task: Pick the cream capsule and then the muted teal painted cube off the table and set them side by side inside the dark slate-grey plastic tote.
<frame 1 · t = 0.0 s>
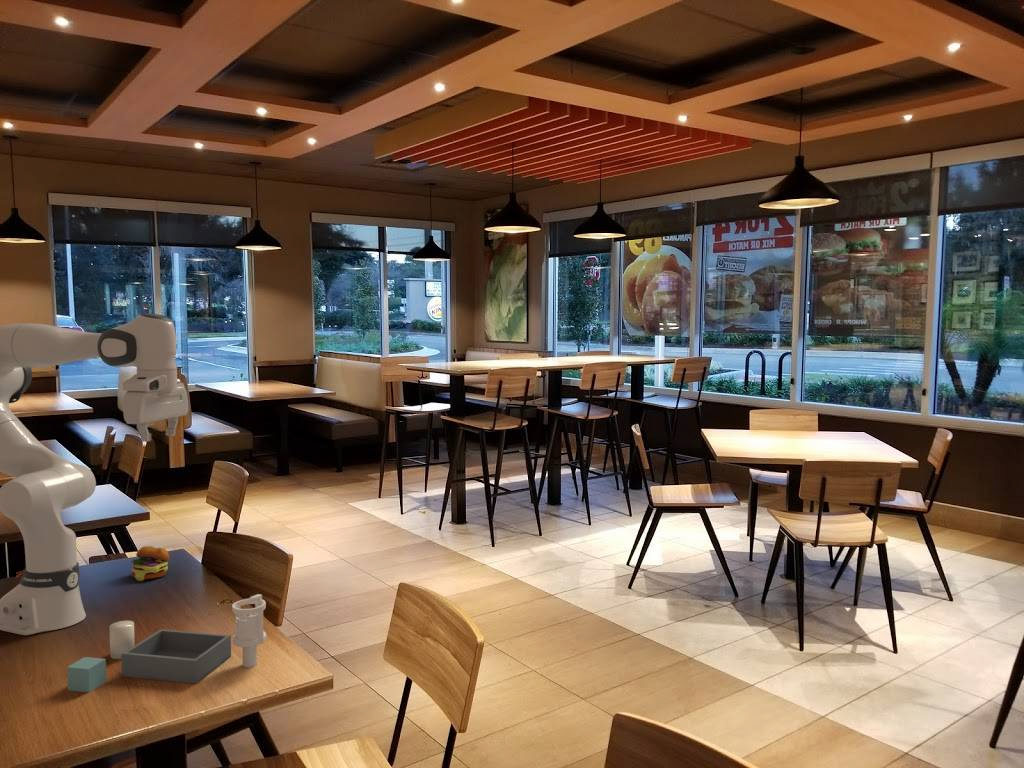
hand: (158, 438, 186), 48 cm above the table, fingers open, 8 cm apart
cheeseburger: (150, 576, 231), on the table
tote: (178, 666, 170), on the table
grey slotted cylindrical housing: (249, 665, 172), on the table
cream capsule: (122, 654, 176), on the table
teal cube: (87, 686, 161), on the table
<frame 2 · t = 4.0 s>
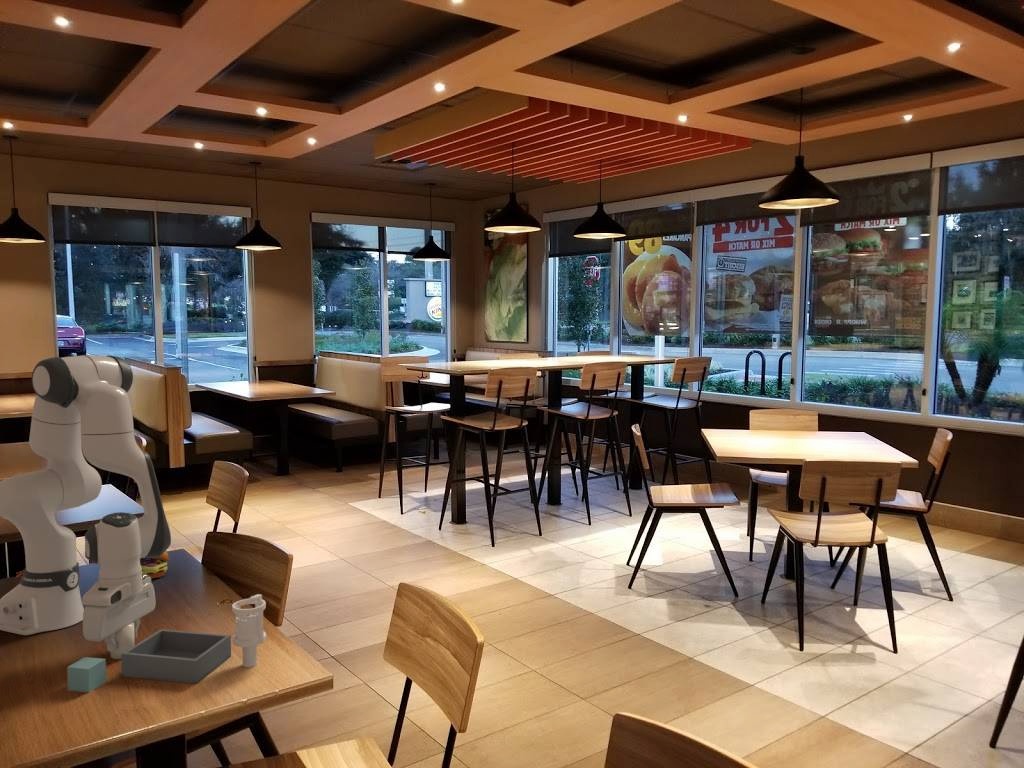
hand: (122, 644, 176), 2 cm above the table, fingers closed on cream capsule, 5 cm apart
cream capsule: (122, 654, 176), on the table, touching gripper
everything else where it was.
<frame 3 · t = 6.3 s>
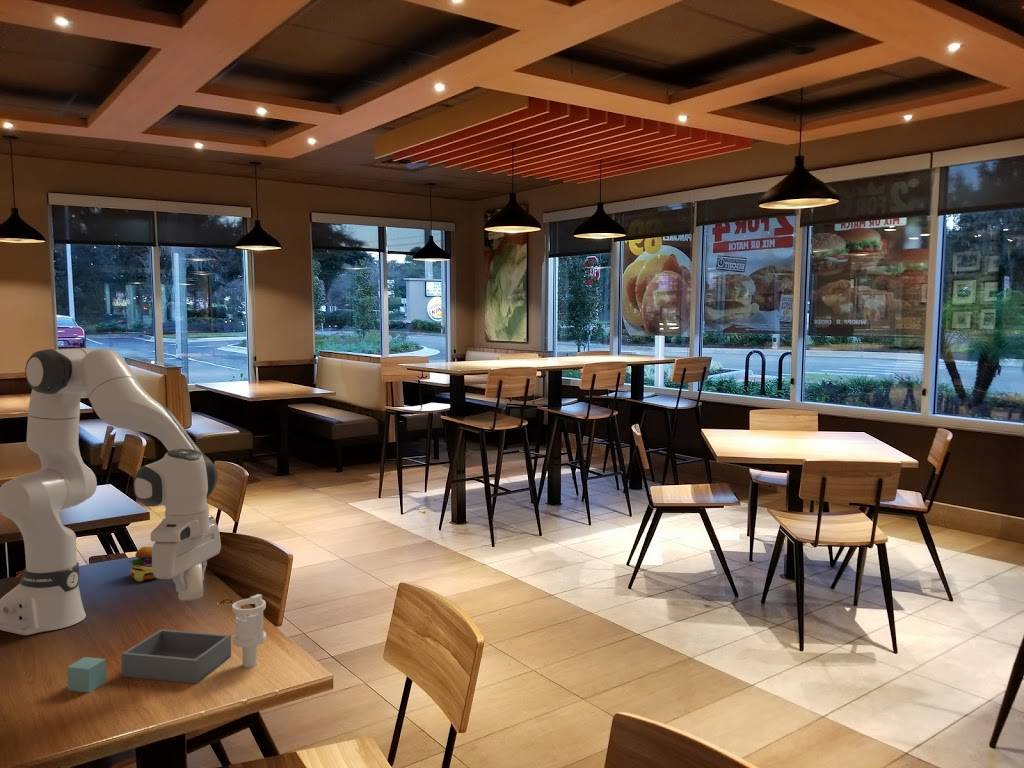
hand: (190, 586, 168), 18 cm above the table, fingers closed on cream capsule, 5 cm apart
cream capsule: (190, 596, 169), point 16 cm above the table, touching gripper
everything else where it was.
when the fingers open (6 cm above the table, at t = 9.0 s): cream capsule drops 3 cm, resting on tote.
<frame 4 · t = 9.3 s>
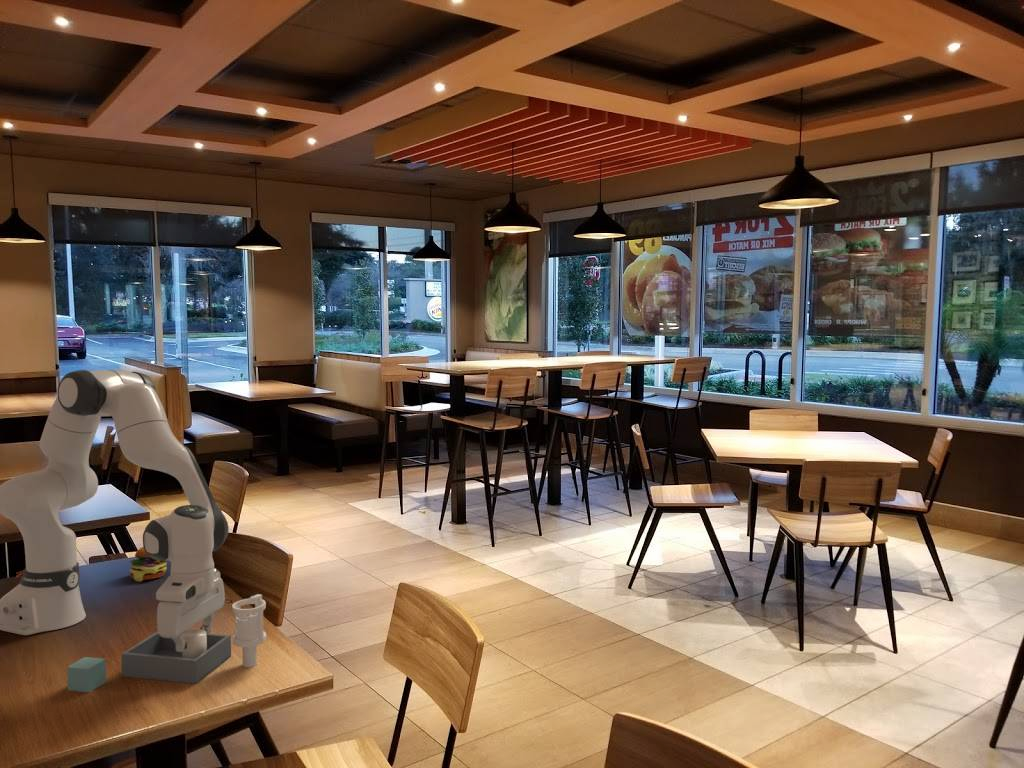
hand: (194, 641, 169), 6 cm above the table, fingers open, 8 cm apart
cream capsule: (194, 664, 170), point 1 cm above the table, touching tote
everything else where it was.
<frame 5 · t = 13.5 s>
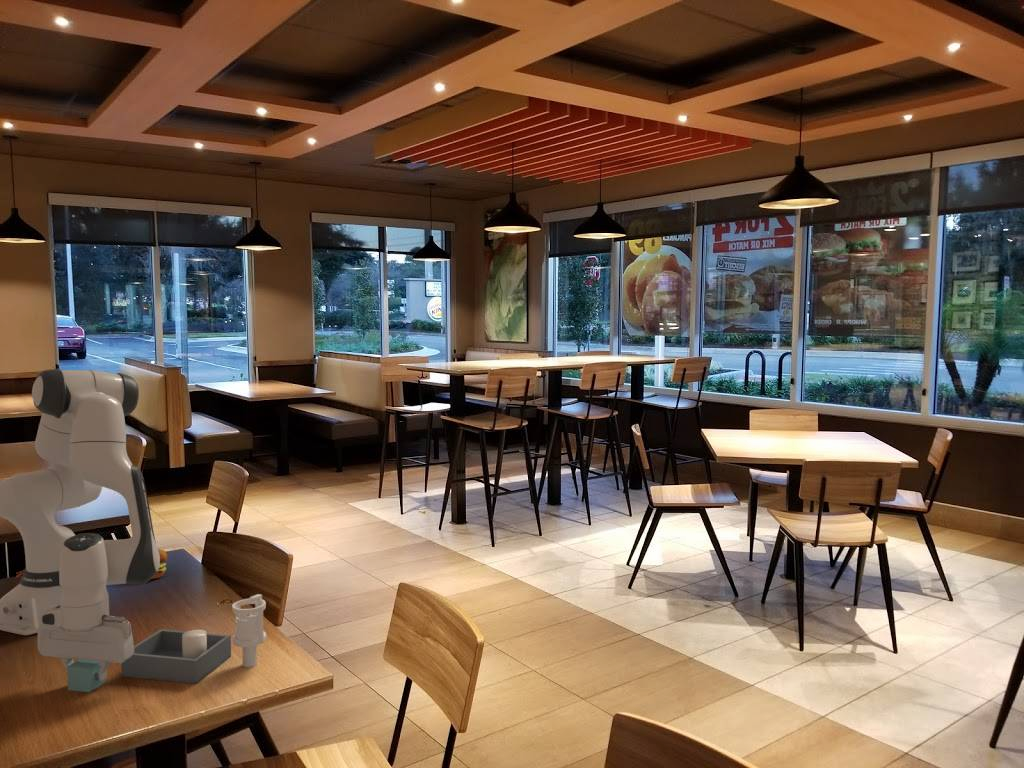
hand: (87, 678, 161), 2 cm above the table, fingers closed on teal cube, 5 cm apart
teal cube: (87, 685, 161), on the table, touching gripper
everything else where it was.
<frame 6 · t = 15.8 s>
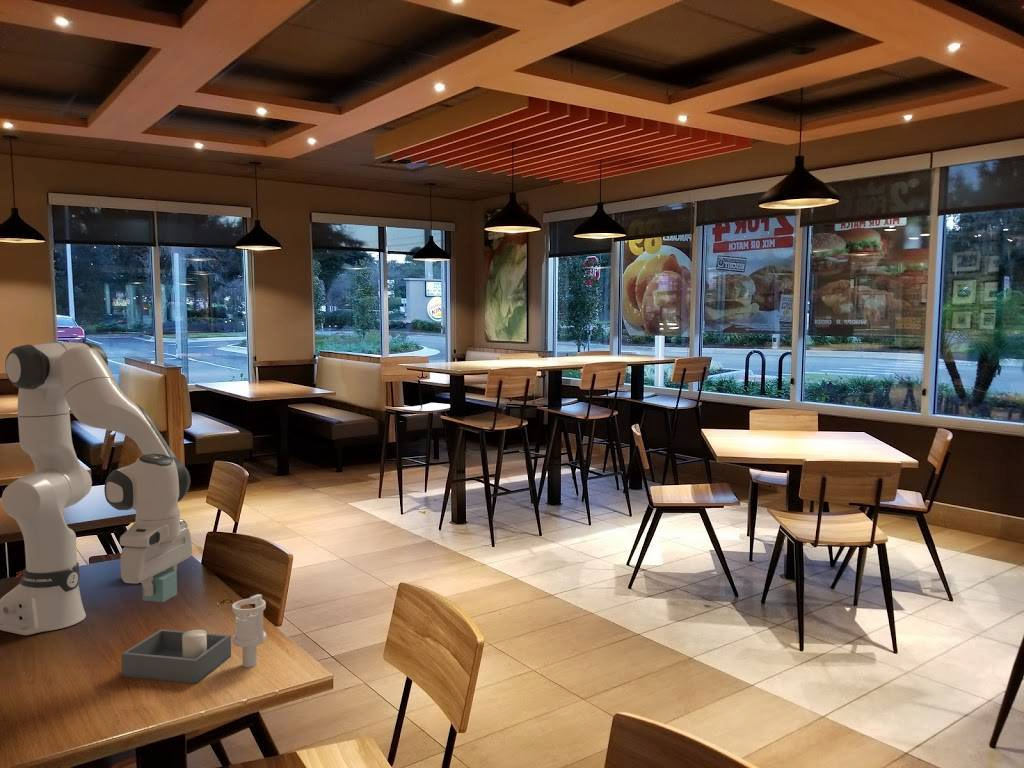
hand: (159, 590, 170), 17 cm above the table, fingers closed on teal cube, 5 cm apart
teal cube: (160, 597, 170), point 15 cm above the table, touching gripper
when the fingers open (5 cm above the table, at t = 18.3 s): teal cube drops 3 cm, resting on tote.
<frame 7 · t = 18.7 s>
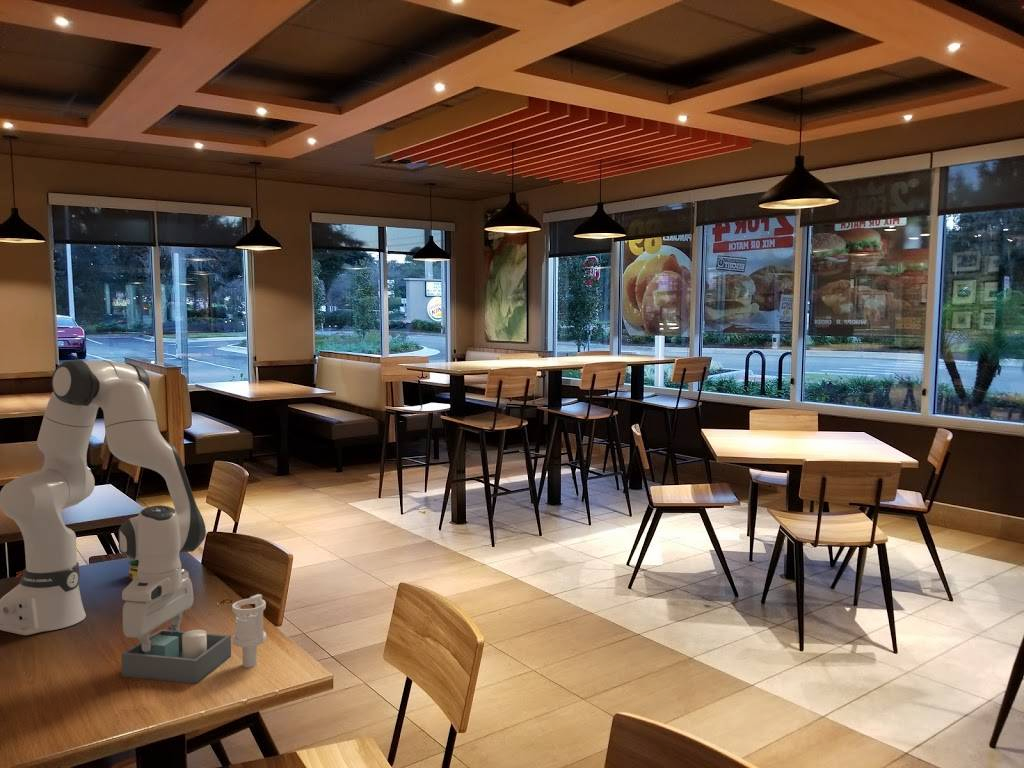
hand: (161, 641, 171), 5 cm above the table, fingers open, 8 cm apart
teal cube: (162, 661, 171), point 1 cm above the table, touching tote
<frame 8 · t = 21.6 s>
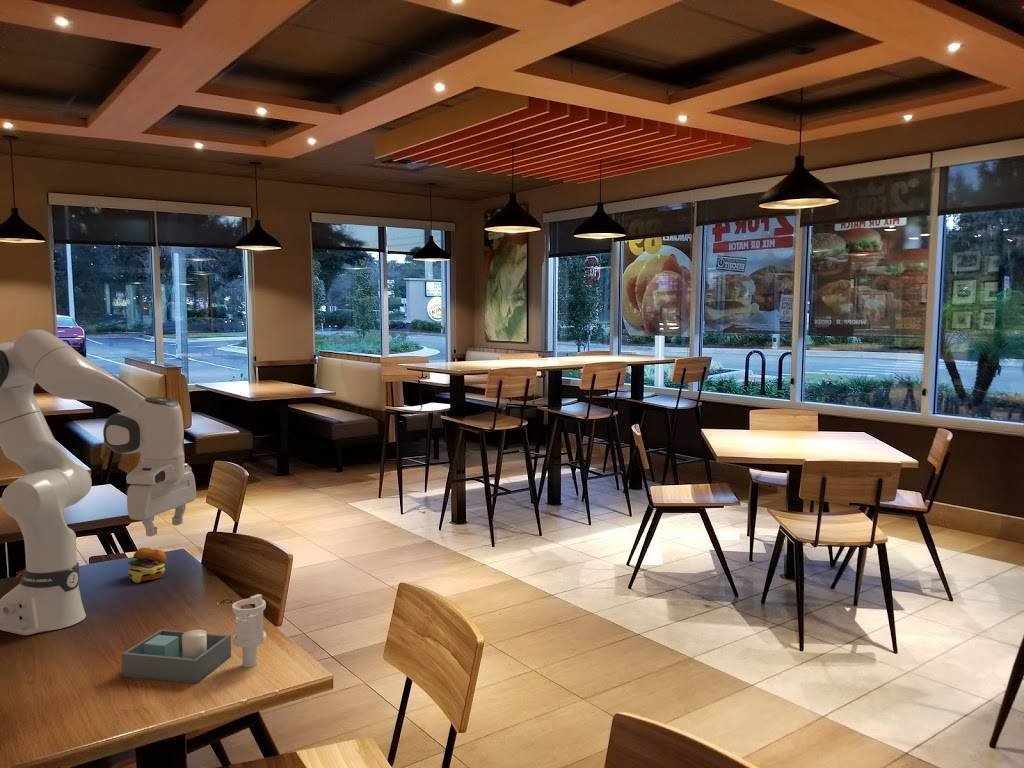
hand: (164, 529, 174), 29 cm above the table, fingers open, 8 cm apart
at the end: cream capsule inside the target area on the tote (4.0 cm from its centre), point 0.6 cm above the tote's base; teal cube inside the target area on the tote (4.0 cm from its centre), point 0.6 cm above the tote's base; cream capsule tilted 0° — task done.
